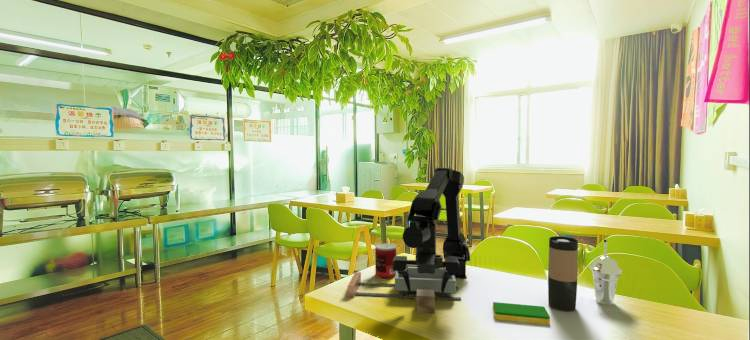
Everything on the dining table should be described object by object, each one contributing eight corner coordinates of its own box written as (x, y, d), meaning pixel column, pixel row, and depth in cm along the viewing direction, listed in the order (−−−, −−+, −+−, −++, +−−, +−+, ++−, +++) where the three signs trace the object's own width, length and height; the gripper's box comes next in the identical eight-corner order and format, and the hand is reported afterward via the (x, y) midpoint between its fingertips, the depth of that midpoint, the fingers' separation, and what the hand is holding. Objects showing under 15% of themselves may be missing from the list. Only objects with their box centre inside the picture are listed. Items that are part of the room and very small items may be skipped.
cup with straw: (627, 303, 108) (629, 237, 107) (610, 310, 104) (612, 241, 103) (598, 294, 116) (599, 232, 115) (581, 299, 111) (582, 235, 110)
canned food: (396, 272, 137) (396, 243, 137) (395, 279, 129) (395, 249, 129) (376, 271, 138) (376, 243, 138) (374, 278, 130) (374, 248, 130)
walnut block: (433, 306, 106) (433, 290, 106) (434, 314, 101) (434, 296, 101) (416, 305, 107) (416, 289, 107) (416, 313, 102) (416, 295, 102)
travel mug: (573, 303, 109) (575, 237, 108) (579, 313, 102) (580, 243, 101) (546, 299, 111) (547, 235, 110) (549, 309, 104) (550, 241, 103)
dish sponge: (492, 309, 105) (492, 301, 105) (544, 314, 102) (544, 306, 102) (495, 320, 98) (495, 311, 98) (550, 326, 95) (550, 317, 95)
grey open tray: (452, 284, 122) (452, 268, 122) (455, 298, 110) (455, 280, 110) (397, 282, 124) (397, 266, 124) (394, 295, 112) (394, 278, 112)
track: (457, 286, 122) (457, 276, 122) (461, 302, 109) (461, 290, 109) (355, 282, 126) (355, 272, 126) (348, 296, 114) (348, 285, 113)
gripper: (391, 246, 97) (391, 303, 97) (462, 248, 94) (462, 307, 95) (394, 236, 108) (394, 288, 108) (458, 238, 105) (457, 291, 106)
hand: (425, 293), depth 104 cm, fingers open, 9 cm apart
